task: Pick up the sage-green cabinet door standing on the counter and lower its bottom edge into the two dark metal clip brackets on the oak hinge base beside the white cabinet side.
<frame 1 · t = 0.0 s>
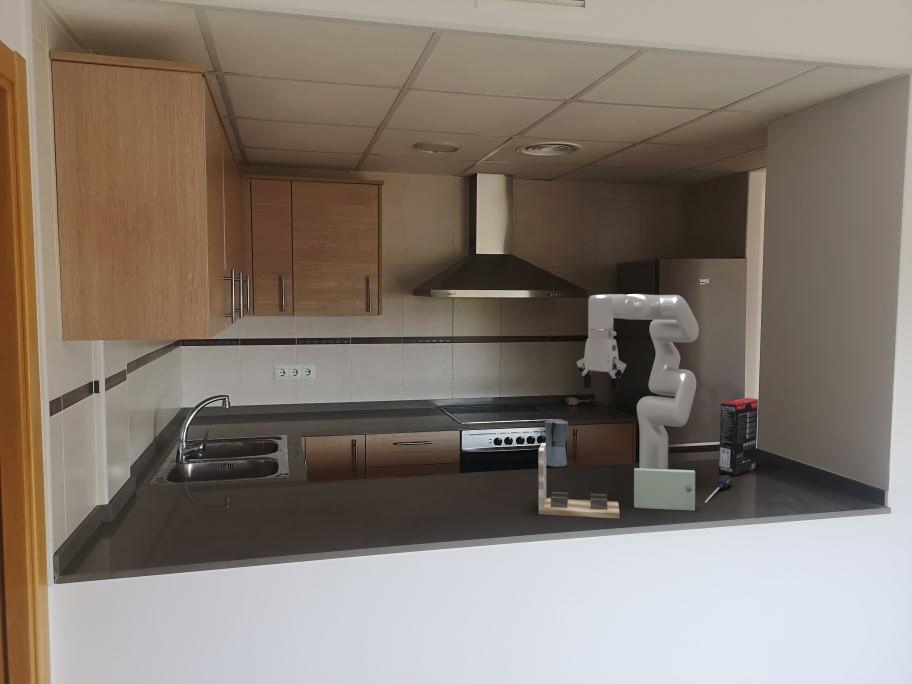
hand: (600, 389, 205), 37 cm above the worktop, tool pointing down, fingers open, 9 cm apart
door: (663, 508, 206), on the worktop
graphics card box: (738, 472, 248), on the worktop
moka pot: (556, 465, 261), on the worktop
screwdriver: (716, 494, 220), on the worktop
hinge base: (579, 510, 204), on the worktop
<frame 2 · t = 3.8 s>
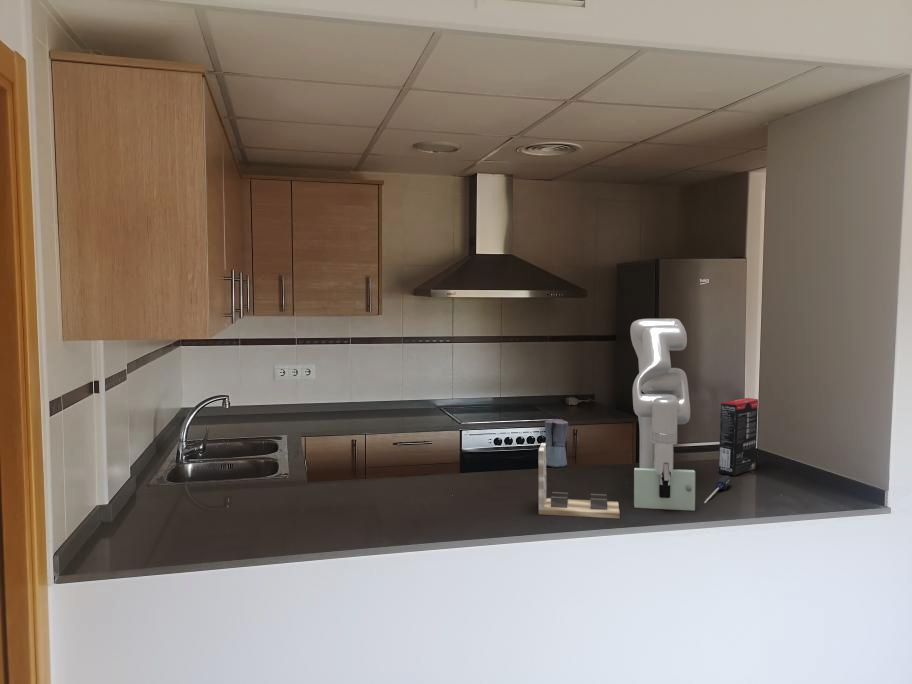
hand: (664, 495, 205), 4 cm above the worktop, tool pointing down, fingers closed on door, 2 cm apart
door: (664, 507, 206), on the worktop, touching gripper
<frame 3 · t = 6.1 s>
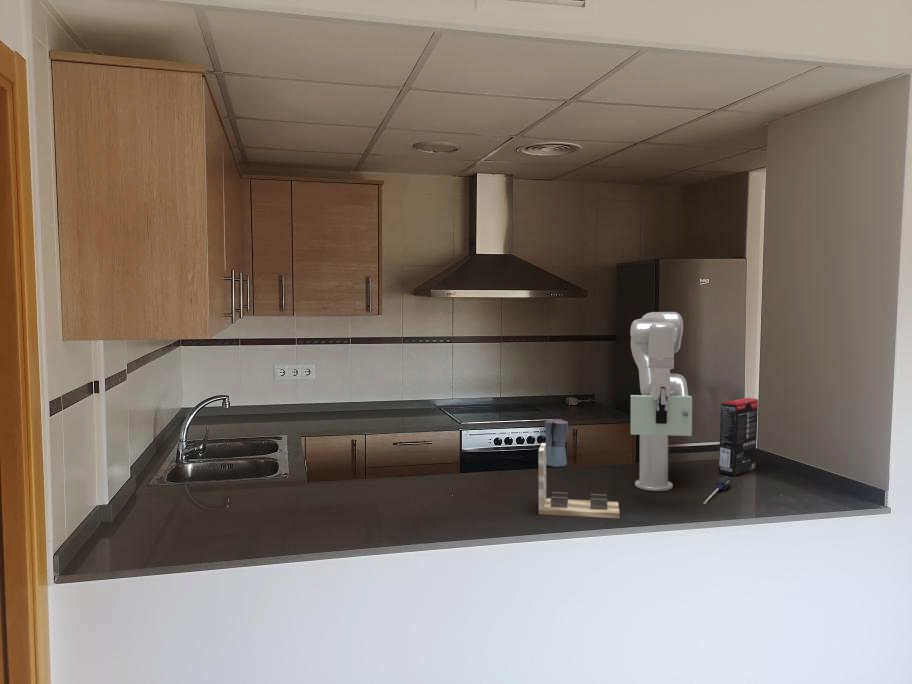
hand: (660, 422, 204), 27 cm above the worktop, tool pointing down, fingers closed on door, 2 cm apart
door: (660, 434, 204), point 23 cm above the worktop, touching gripper
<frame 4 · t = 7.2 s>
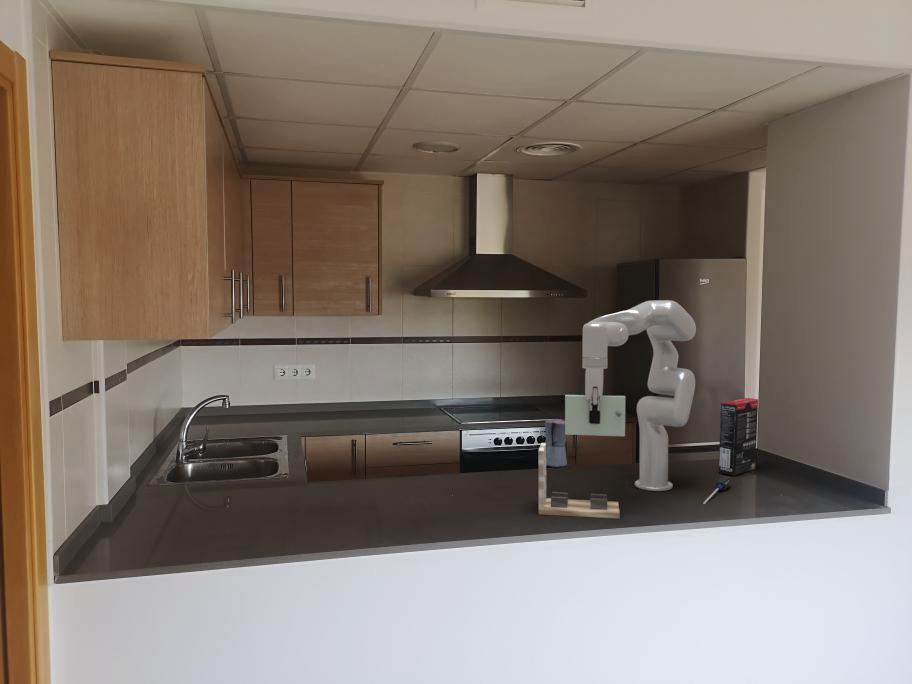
hand: (594, 422, 203), 28 cm above the worktop, tool pointing down, fingers closed on door, 2 cm apart
door: (594, 434, 203), point 24 cm above the worktop, touching gripper
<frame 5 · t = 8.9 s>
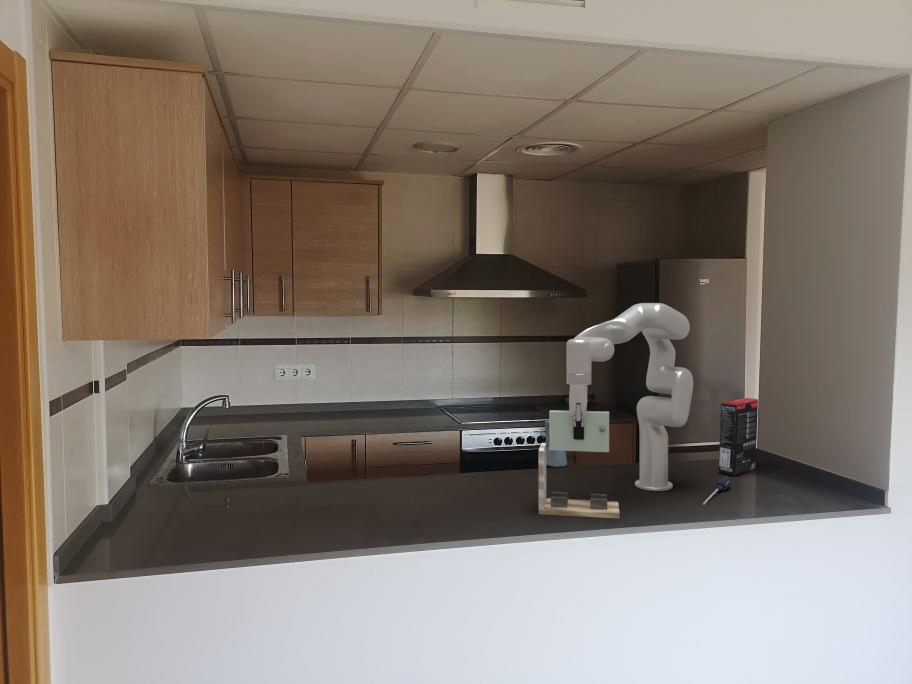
hand: (578, 437, 203), 23 cm above the worktop, tool pointing down, fingers closed on door, 2 cm apart
door: (579, 450, 203), point 19 cm above the worktop, touching gripper
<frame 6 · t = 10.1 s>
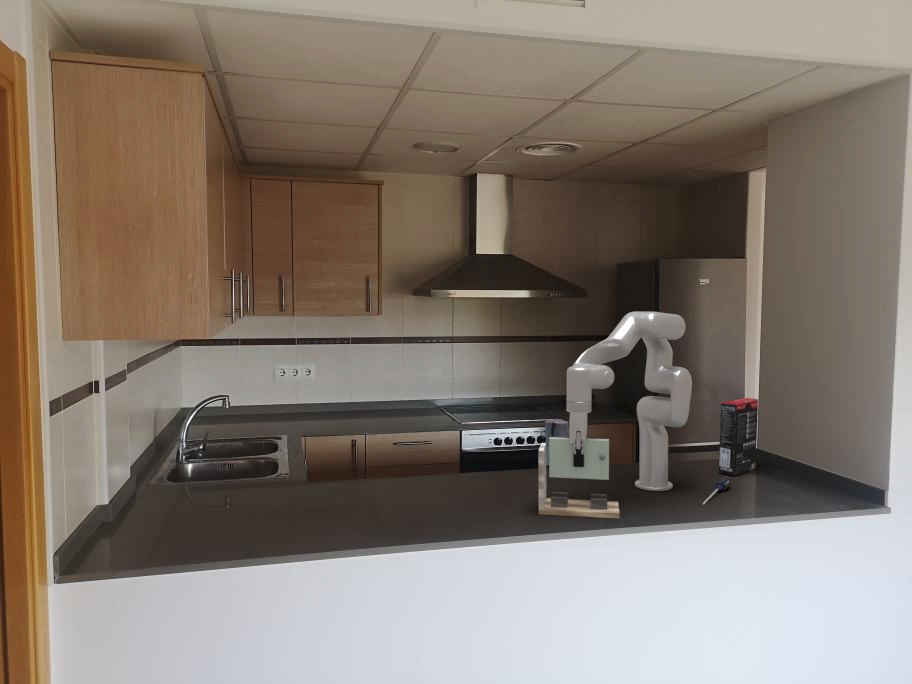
hand: (578, 465, 203), 14 cm above the worktop, tool pointing down, fingers closed on door, 2 cm apart
door: (578, 477, 203), point 10 cm above the worktop, touching gripper
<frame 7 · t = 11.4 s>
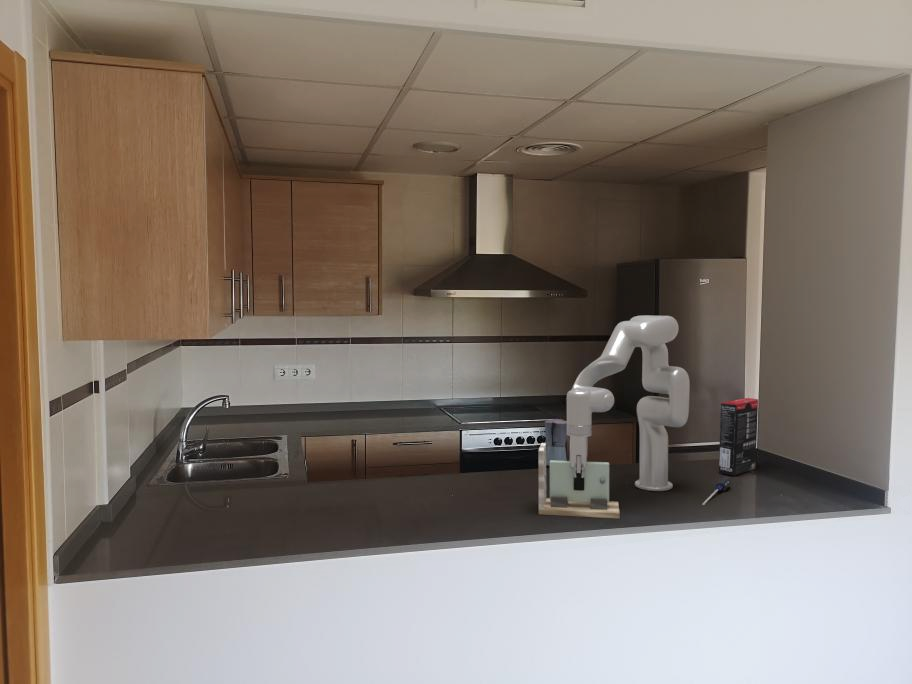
hand: (579, 488, 204), 7 cm above the worktop, tool pointing down, fingers closed on door, 2 cm apart
door: (579, 500, 204), point 3 cm above the worktop, touching gripper
when the fingers open (6 cm above the worktop, at t = 11.9 s): door stays where it is, resting on hinge base.
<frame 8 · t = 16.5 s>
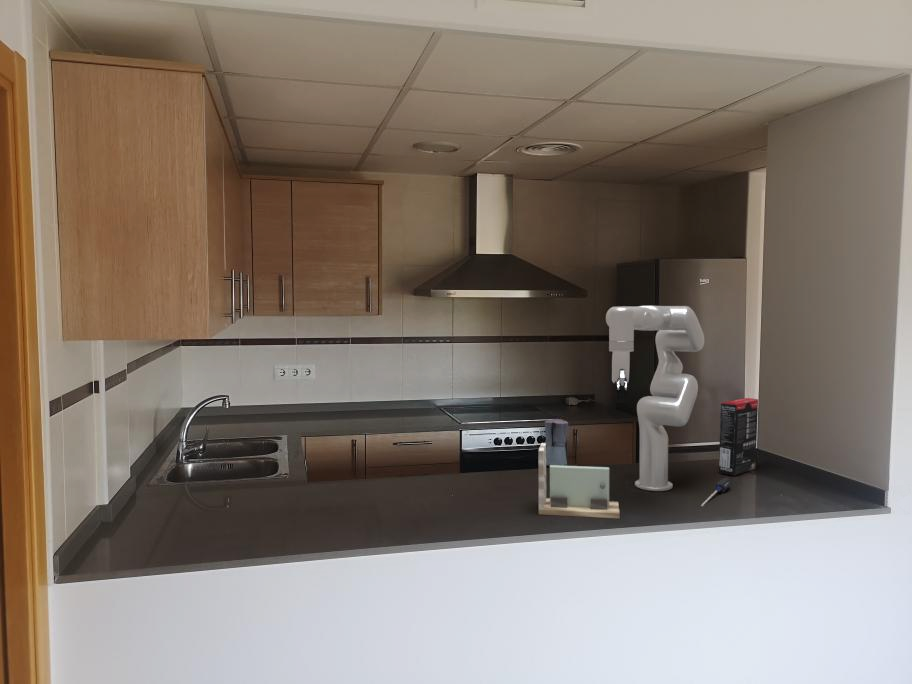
hand: (621, 400, 208), 33 cm above the worktop, tool pointing down, fingers open, 9 cm apart
door: (579, 505, 204), point 1 cm above the worktop, touching hinge base
screwdriver: (714, 497, 217), on the worktop
everything else where it was.
at the end: door 0.2 cm off-centre on the hinge base, point 1.5 cm above the hinge base's base; door tilted 0°; the gripper is holding nothing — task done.
